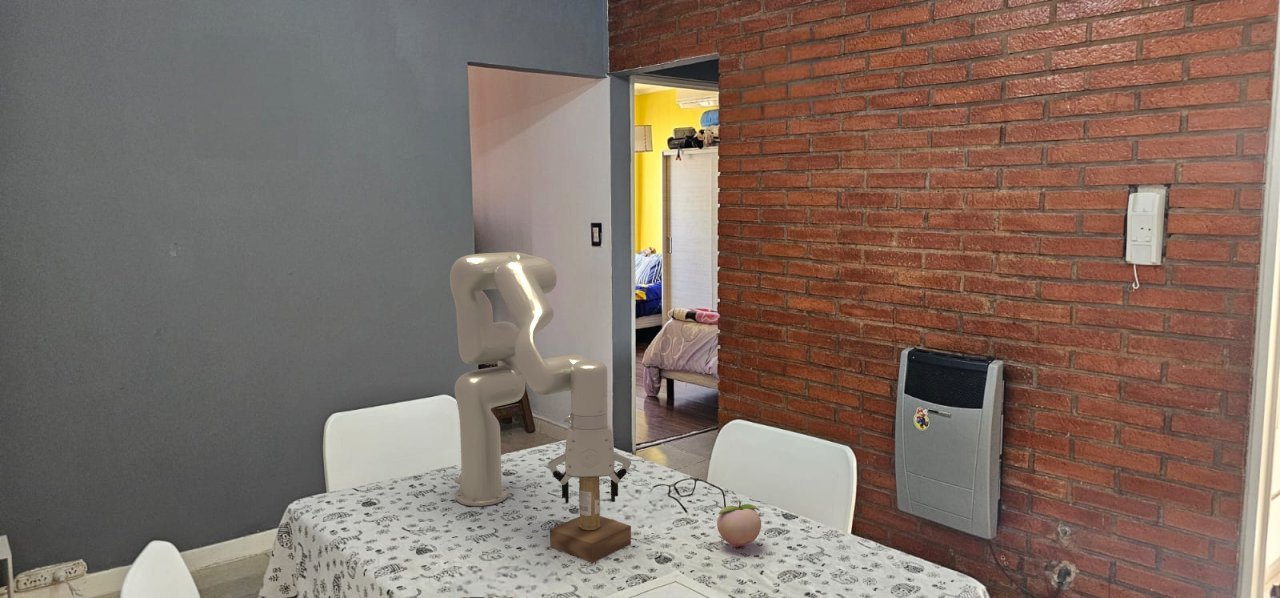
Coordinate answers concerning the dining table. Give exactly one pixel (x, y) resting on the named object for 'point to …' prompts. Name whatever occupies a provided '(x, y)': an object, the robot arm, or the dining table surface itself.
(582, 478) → the sprinkles bottle
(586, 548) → the walnut stand
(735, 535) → the decorative fruit
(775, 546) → the dining table surface
